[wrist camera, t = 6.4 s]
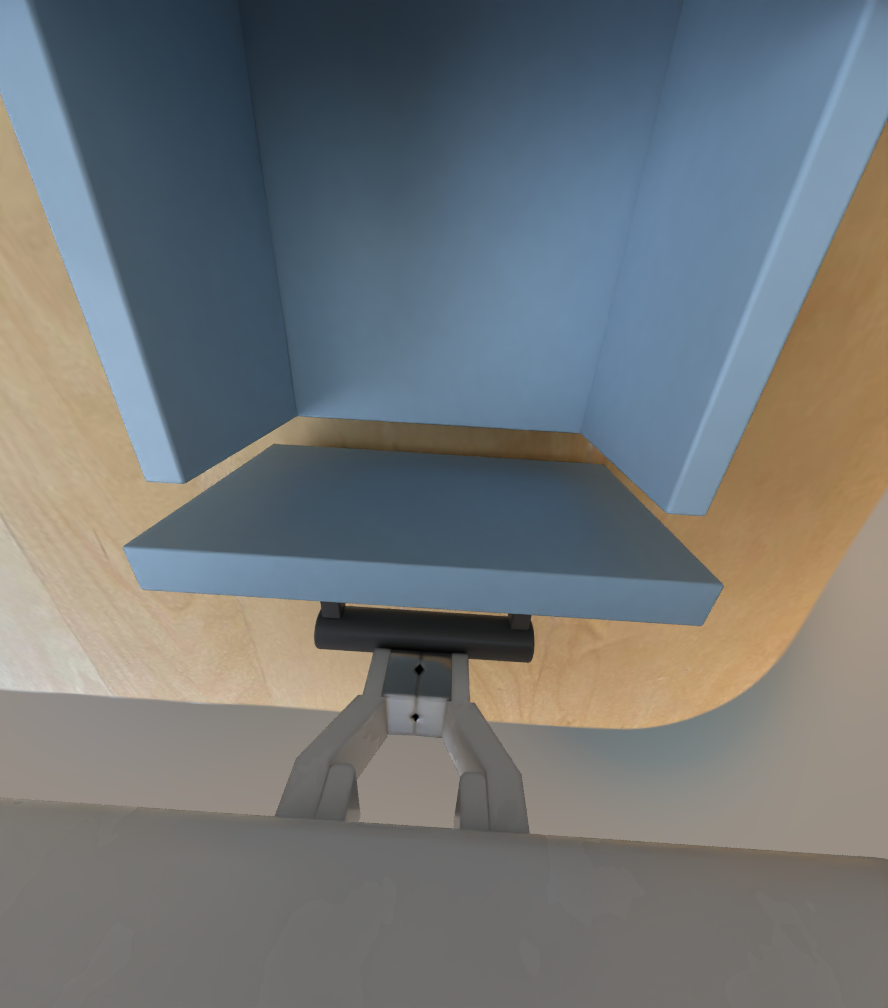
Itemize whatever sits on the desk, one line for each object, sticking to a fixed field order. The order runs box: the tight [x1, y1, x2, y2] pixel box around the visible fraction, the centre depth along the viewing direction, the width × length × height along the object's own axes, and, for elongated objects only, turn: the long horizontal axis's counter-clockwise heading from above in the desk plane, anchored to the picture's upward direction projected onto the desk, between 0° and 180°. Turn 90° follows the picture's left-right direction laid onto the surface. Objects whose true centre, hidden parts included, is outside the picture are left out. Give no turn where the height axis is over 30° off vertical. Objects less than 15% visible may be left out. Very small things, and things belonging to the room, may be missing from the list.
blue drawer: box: [0, 0, 888, 663], centre depth 9 cm, size 19×13×7 cm, turn 177°
